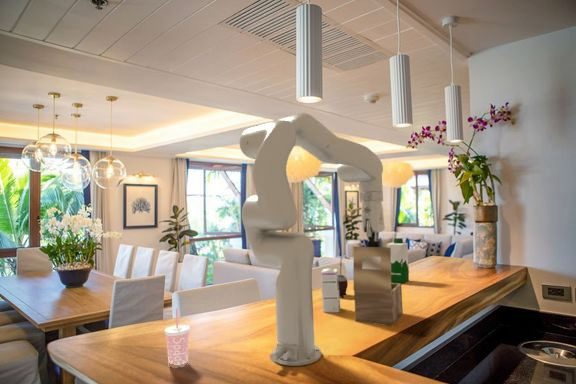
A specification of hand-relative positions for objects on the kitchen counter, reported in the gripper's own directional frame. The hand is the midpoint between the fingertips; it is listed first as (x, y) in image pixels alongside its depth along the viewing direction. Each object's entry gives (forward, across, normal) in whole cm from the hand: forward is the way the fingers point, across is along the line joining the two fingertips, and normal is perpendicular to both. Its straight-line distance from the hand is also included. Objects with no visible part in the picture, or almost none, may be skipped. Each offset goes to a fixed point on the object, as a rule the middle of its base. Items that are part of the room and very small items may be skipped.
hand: (374, 253), depth 124 cm
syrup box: (+22, +5, +18) cm, 29 cm away
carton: (+22, +3, 0) cm, 22 cm away
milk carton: (+22, +59, +6) cm, 63 cm away
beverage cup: (+21, -52, +36) cm, 67 cm away
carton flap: (+5, -3, 0) cm, 5 cm away
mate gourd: (+22, +26, +23) cm, 41 cm away
